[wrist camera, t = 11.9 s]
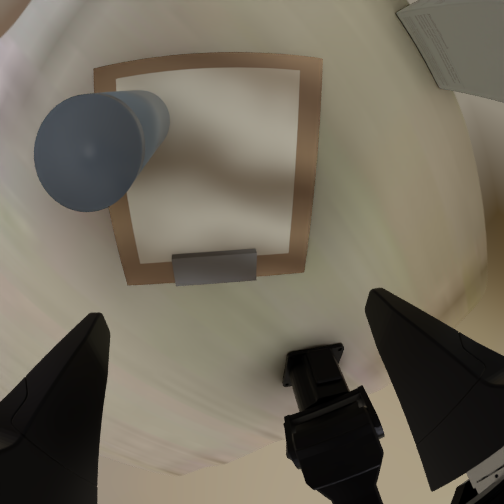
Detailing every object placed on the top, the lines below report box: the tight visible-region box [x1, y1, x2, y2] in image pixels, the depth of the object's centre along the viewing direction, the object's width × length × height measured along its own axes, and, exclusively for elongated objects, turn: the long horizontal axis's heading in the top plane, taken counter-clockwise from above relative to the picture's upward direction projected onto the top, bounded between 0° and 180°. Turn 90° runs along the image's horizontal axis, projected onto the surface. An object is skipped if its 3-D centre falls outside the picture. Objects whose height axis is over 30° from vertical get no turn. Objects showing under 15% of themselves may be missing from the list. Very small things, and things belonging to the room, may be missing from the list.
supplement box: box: [396, 0, 504, 103], centre depth 9 cm, size 7×7×13 cm
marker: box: [34, 90, 170, 212], centre depth 11 cm, size 4×4×9 cm
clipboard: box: [94, 52, 323, 286], centre depth 18 cm, size 16×14×1 cm
